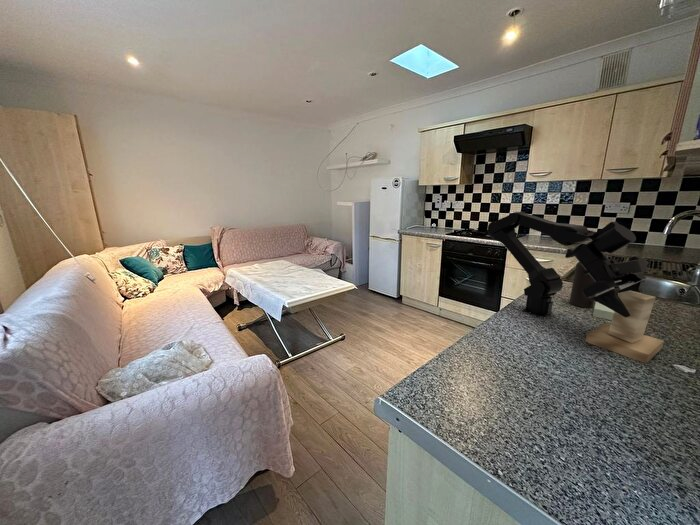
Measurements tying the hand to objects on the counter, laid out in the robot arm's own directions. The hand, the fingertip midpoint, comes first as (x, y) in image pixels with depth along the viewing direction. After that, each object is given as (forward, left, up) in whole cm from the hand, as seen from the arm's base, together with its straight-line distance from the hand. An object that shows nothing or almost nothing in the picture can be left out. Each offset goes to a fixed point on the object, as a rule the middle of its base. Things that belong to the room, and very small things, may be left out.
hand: (637, 313), depth 70 cm
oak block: (-1, 0, -10) cm, 11 cm away
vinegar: (-19, +23, -10) cm, 32 cm away
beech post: (-1, 0, -7) cm, 7 cm away
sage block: (-10, +20, -10) cm, 25 cm away
